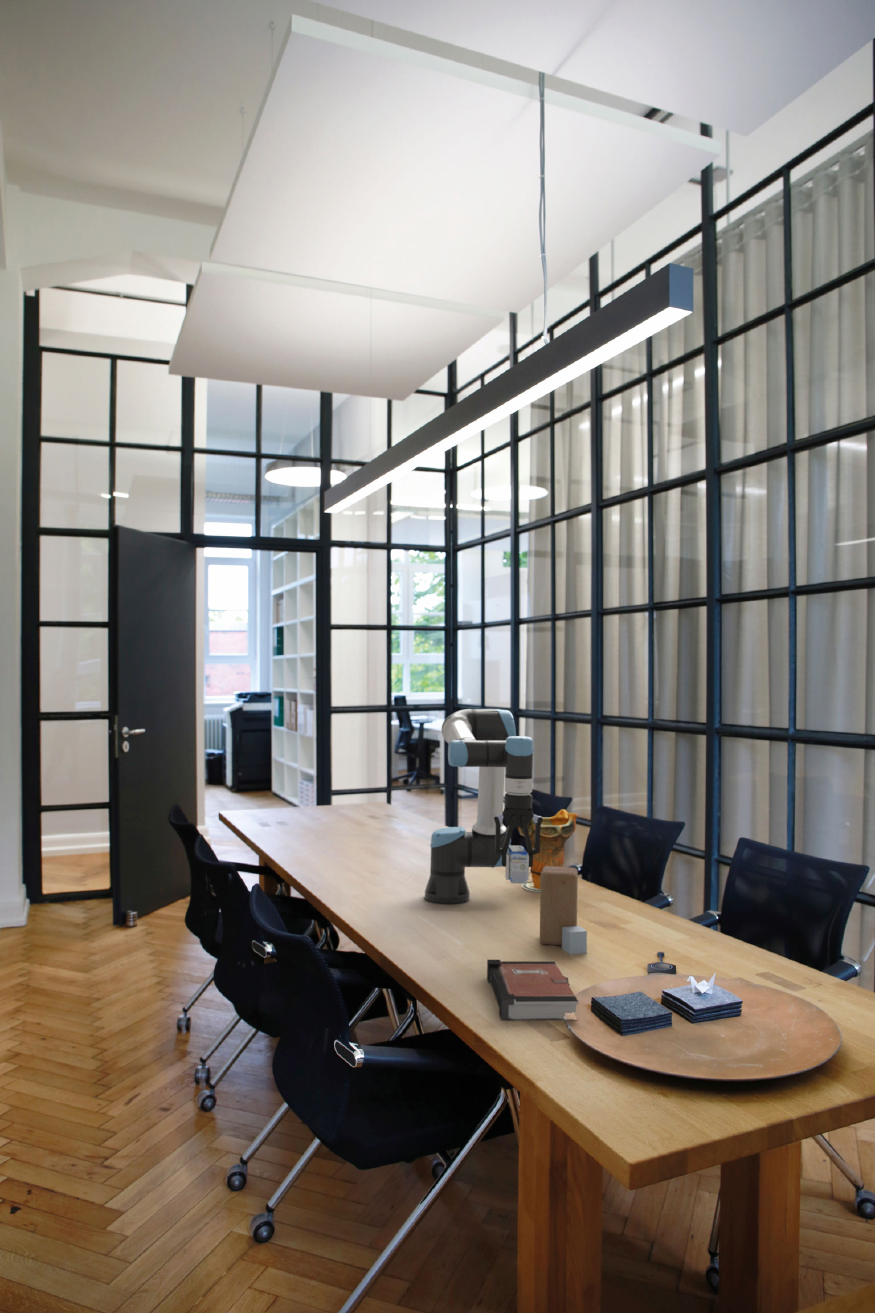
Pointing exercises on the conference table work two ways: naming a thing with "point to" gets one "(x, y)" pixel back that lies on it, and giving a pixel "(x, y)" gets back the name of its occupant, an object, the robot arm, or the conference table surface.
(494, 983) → the book
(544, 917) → the wooden block
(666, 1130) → the conference table surface
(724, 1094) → the conference table surface
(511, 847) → the medicine box
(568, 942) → the slate block
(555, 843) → the decorative vase
